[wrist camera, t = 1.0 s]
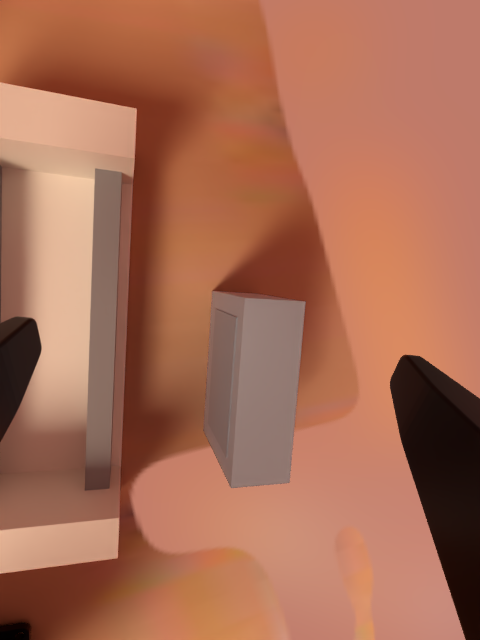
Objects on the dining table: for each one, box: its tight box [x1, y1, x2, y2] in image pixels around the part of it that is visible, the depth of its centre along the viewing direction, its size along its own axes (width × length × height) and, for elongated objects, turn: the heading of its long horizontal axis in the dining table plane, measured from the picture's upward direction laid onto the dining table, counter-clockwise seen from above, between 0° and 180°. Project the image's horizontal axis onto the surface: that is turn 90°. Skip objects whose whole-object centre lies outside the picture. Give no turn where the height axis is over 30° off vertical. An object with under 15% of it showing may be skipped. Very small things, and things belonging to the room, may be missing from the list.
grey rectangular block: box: [203, 291, 306, 488], centre depth 21 cm, size 9×3×7 cm, turn 176°
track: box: [0, 82, 137, 574], centre depth 19 cm, size 20×8×6 cm, turn 176°
